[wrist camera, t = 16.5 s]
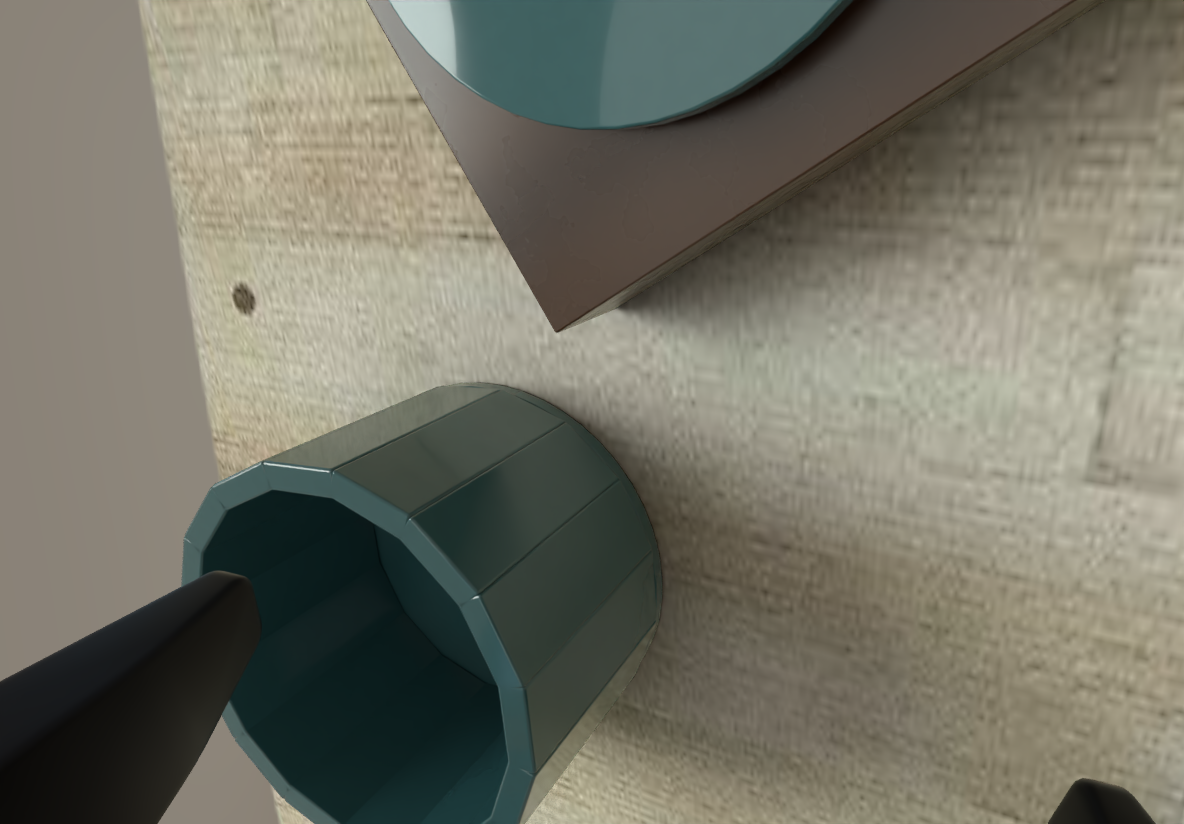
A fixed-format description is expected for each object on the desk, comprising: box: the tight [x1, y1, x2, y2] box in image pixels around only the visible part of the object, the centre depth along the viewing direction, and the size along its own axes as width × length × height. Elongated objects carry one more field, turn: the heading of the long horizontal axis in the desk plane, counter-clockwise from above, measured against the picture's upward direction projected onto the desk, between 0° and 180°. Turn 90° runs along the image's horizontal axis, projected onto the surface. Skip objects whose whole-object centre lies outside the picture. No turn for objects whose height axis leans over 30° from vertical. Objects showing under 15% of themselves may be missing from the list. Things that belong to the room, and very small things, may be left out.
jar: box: [181, 383, 662, 824], centre depth 22 cm, size 11×11×7 cm
